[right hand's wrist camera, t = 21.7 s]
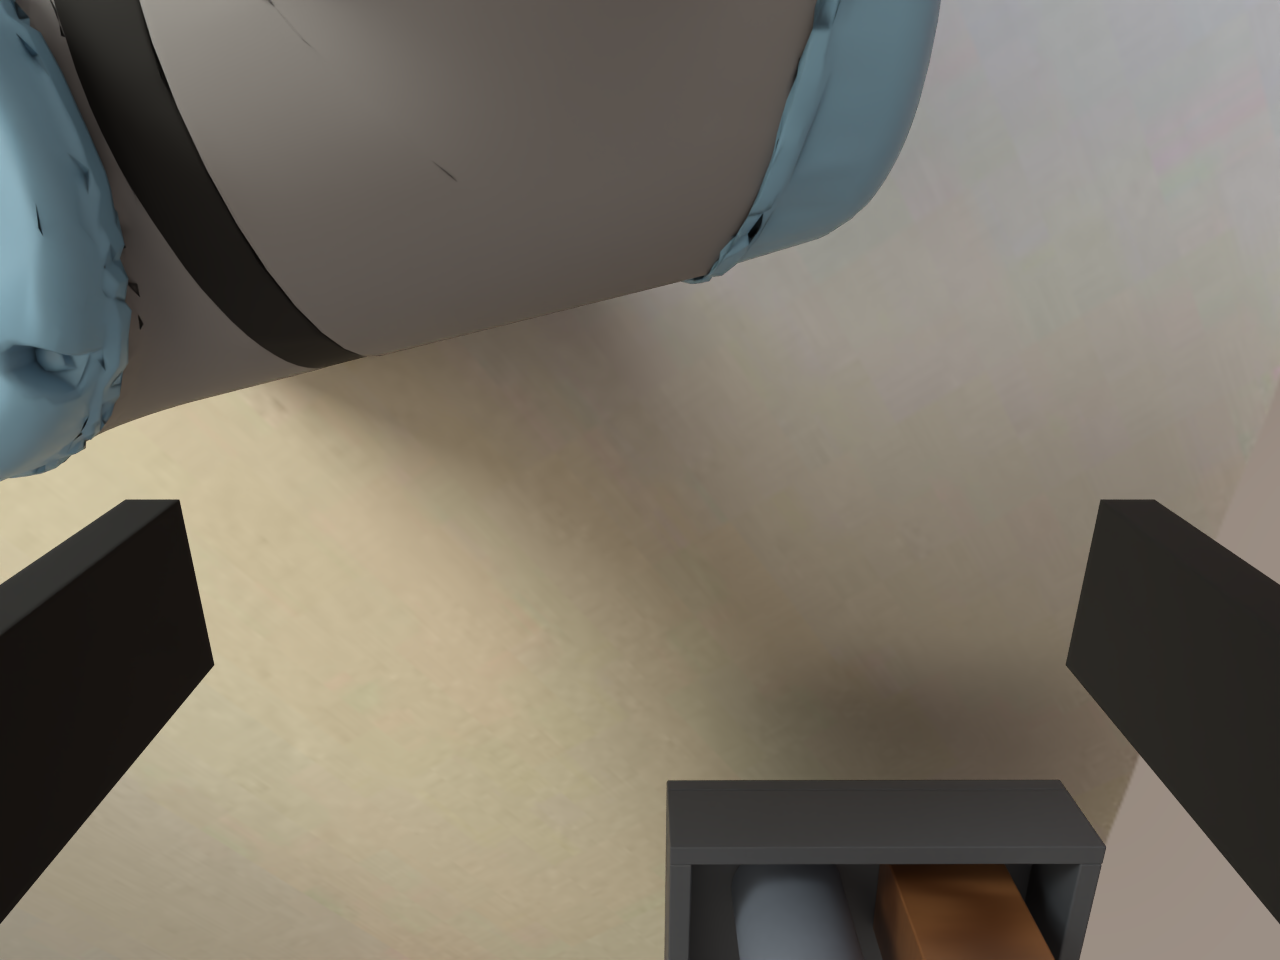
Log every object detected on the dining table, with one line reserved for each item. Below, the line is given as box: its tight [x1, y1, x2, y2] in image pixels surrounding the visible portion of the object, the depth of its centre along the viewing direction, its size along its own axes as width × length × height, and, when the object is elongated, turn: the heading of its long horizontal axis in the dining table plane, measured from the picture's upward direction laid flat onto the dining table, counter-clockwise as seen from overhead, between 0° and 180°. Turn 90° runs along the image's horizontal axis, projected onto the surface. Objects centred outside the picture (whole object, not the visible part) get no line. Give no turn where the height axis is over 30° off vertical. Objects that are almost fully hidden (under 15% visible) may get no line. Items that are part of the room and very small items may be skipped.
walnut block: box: [873, 864, 1055, 960], centre depth 32 cm, size 4×4×6 cm
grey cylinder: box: [731, 864, 864, 960], centre depth 32 cm, size 4×4×6 cm
